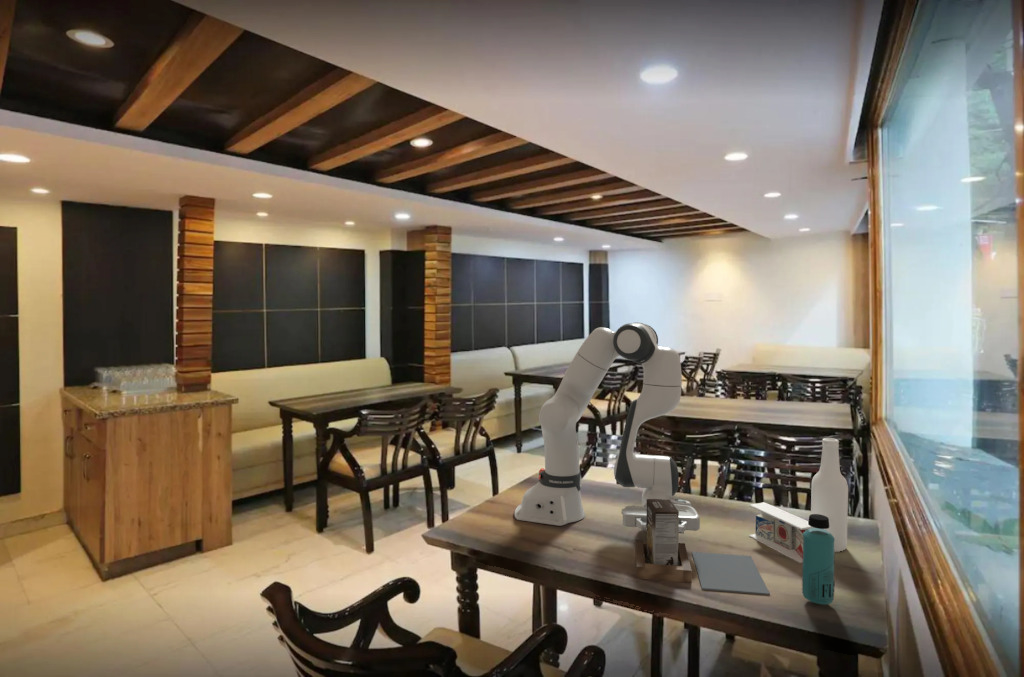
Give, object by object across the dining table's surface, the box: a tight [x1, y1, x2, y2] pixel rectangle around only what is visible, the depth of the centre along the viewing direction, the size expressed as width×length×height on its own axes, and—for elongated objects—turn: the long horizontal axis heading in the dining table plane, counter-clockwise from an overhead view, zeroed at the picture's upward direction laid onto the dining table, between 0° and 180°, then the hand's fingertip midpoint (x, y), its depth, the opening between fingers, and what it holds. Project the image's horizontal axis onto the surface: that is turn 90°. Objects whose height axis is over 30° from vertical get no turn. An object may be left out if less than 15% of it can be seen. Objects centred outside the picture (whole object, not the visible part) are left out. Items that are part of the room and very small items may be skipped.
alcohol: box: [810, 437, 849, 553], centre depth 156 cm, size 9×9×30 cm
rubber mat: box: [691, 551, 771, 596], centre depth 142 cm, size 15×20×1 cm
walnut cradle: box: [634, 539, 693, 584], centre depth 146 cm, size 13×16×3 cm
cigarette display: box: [748, 501, 814, 564], centre depth 155 cm, size 20×6×9 cm, turn 19°
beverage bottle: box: [801, 513, 836, 605], centre depth 126 cm, size 6×7×20 cm
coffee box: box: [646, 499, 680, 566], centre depth 145 cm, size 9×6×16 cm
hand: (662, 529), depth 147 cm, fingers open, 8 cm apart
